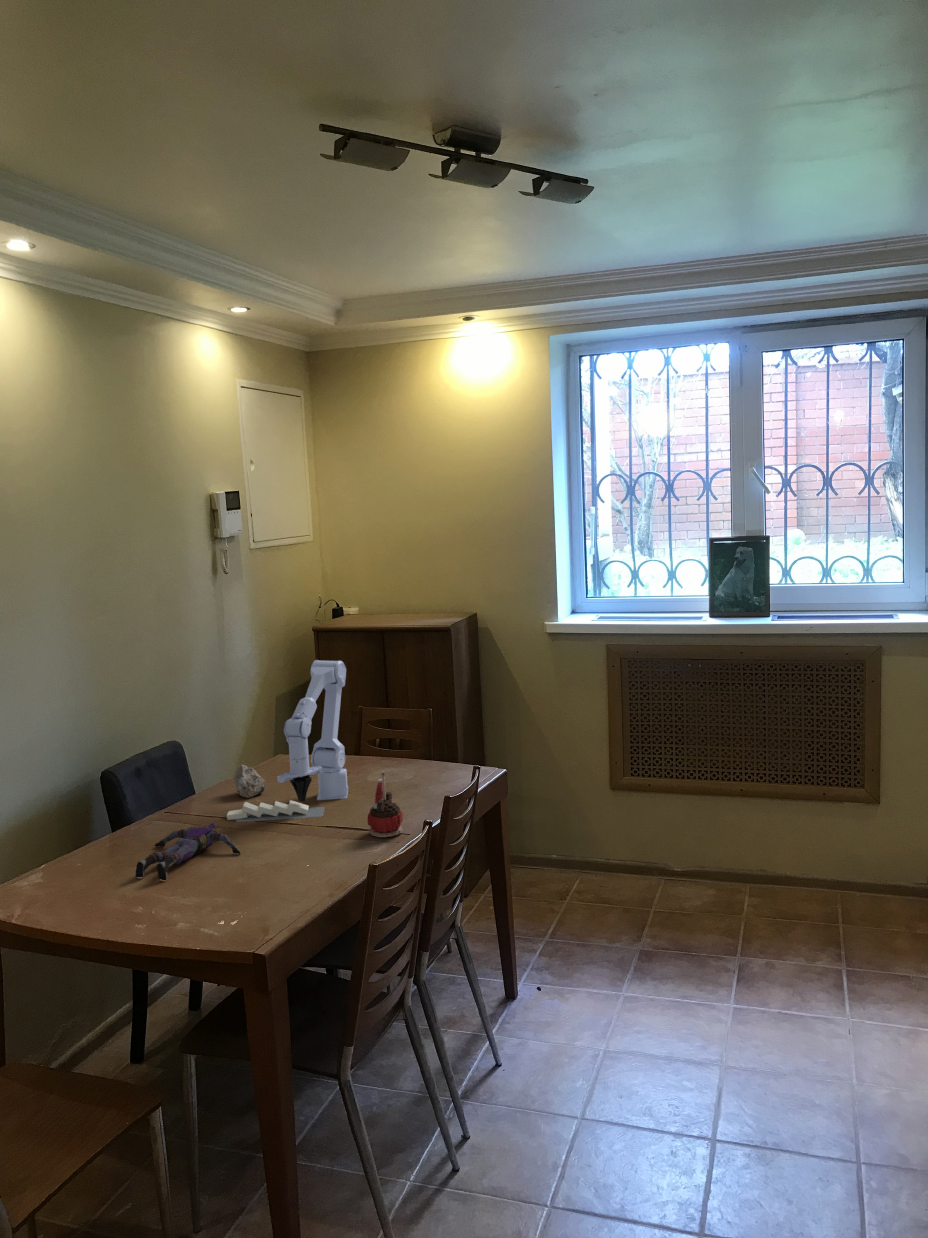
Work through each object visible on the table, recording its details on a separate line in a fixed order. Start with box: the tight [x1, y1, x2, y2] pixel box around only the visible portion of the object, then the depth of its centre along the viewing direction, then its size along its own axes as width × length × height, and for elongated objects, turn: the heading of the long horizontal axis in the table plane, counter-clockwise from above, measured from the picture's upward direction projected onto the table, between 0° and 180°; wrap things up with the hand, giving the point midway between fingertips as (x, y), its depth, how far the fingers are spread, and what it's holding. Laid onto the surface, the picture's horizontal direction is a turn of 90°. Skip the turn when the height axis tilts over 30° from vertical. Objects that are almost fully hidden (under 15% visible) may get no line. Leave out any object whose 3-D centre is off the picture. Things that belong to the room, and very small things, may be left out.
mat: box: [235, 806, 326, 823], centre depth 294 cm, size 26×9×1 cm, turn 94°
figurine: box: [135, 822, 241, 880], centre depth 260 cm, size 27×6×30 cm
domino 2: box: [241, 801, 262, 817], centre depth 293 cm, size 2×4×6 cm
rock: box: [234, 764, 266, 799], centre depth 314 cm, size 9×12×10 cm
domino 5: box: [287, 799, 310, 815], centre depth 294 cm, size 2×4×6 cm
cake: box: [367, 771, 404, 838], centre depth 273 cm, size 11×9×18 cm
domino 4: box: [273, 800, 293, 816], centre depth 293 cm, size 2×4×6 cm
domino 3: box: [258, 801, 278, 817], centre depth 293 cm, size 2×4×6 cm
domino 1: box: [226, 808, 249, 821], centre depth 293 cm, size 2×4×6 cm
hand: (301, 800), depth 294 cm, fingers closed
